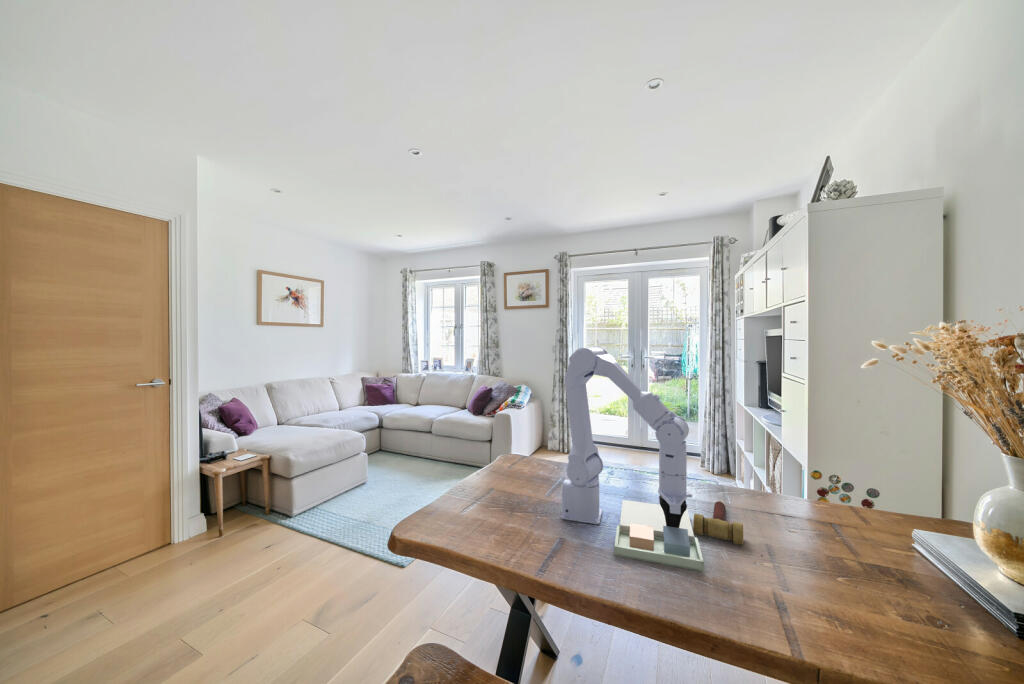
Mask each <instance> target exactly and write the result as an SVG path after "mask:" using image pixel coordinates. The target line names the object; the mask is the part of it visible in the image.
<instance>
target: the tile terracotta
mask: <svg viewBox="0 0 1024 684" xmlns="http://www.w3.org/2000/svg"><path fill="white" fill-rule="evenodd" d="M630 547H633V548H639V549H645V550H651V551H654V533H653V527H650V526H644V525H637V524H631V523H630Z"/></svg>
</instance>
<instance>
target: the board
mask: <svg viewBox="0 0 1024 684" xmlns="http://www.w3.org/2000/svg"><path fill="white" fill-rule="evenodd" d="M620 511H621V512H620V521H619V526H620V531H626V532H630V523H631V524H637V525H644V526H650V527H653V533H654V536H657V537H663V526H666V520H665V515H664V512H663V509H662V507H661V505H660V504H656V503H655V504H654V503H649V502H641V501H635V500H626V499H622V503H621V510H620ZM679 528H682V529H687V530H688V536H689V542H694V537H695V534H694V532H693V526H692V523H691V520H690V516H689V511H688V508H687V509H686V511H685V512H684V513H683V515H682V518H681V522H680V526H679Z"/></svg>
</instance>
